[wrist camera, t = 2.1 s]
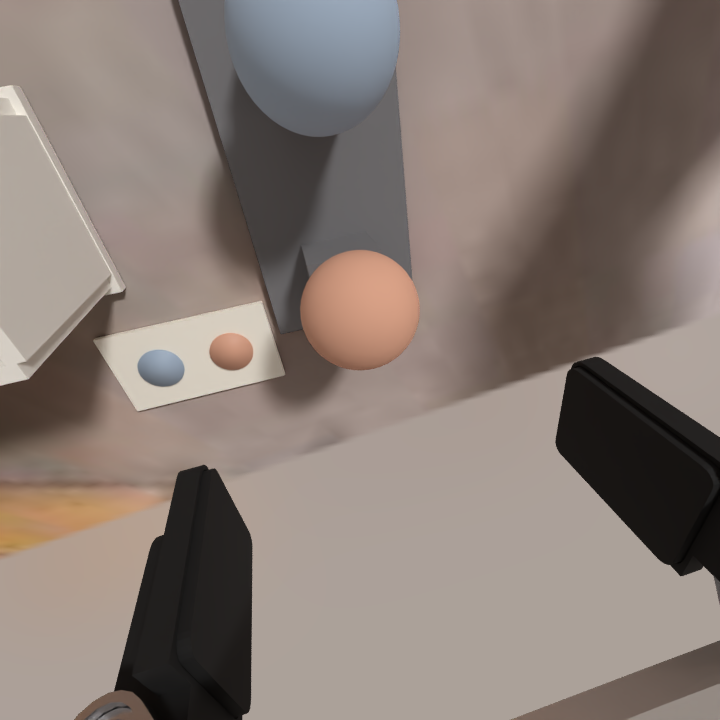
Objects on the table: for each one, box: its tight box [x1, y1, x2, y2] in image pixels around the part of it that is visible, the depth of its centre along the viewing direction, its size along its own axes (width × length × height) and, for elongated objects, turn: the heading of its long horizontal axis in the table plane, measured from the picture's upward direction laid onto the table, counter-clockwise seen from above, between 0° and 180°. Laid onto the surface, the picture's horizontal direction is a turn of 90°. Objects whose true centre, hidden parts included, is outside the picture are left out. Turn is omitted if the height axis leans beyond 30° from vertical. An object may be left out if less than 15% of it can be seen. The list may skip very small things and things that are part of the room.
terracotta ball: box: [300, 250, 419, 370], centre depth 16 cm, size 5×5×5 cm
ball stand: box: [178, 0, 412, 334], centre depth 17 cm, size 8×15×4 cm, turn 9°
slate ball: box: [224, 0, 400, 137], centre depth 11 cm, size 5×5×5 cm
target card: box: [93, 301, 285, 411], centre depth 22 cm, size 9×5×1 cm, turn 99°
